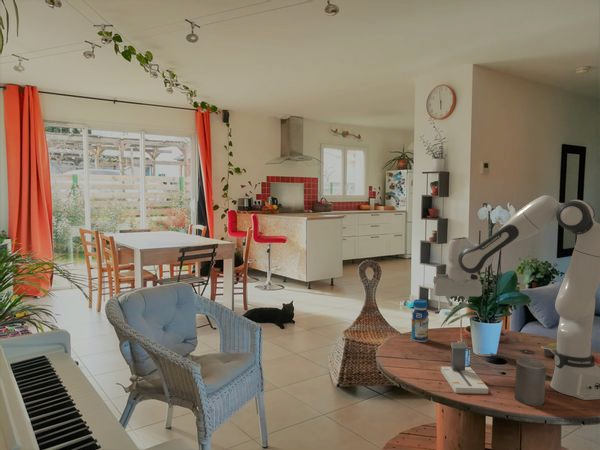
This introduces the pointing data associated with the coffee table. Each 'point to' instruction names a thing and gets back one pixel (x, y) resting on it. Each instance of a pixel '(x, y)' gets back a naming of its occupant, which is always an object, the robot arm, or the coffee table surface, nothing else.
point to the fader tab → (458, 355)
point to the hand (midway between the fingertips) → (457, 306)
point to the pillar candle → (530, 381)
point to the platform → (549, 349)
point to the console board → (464, 380)
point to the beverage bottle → (420, 321)
